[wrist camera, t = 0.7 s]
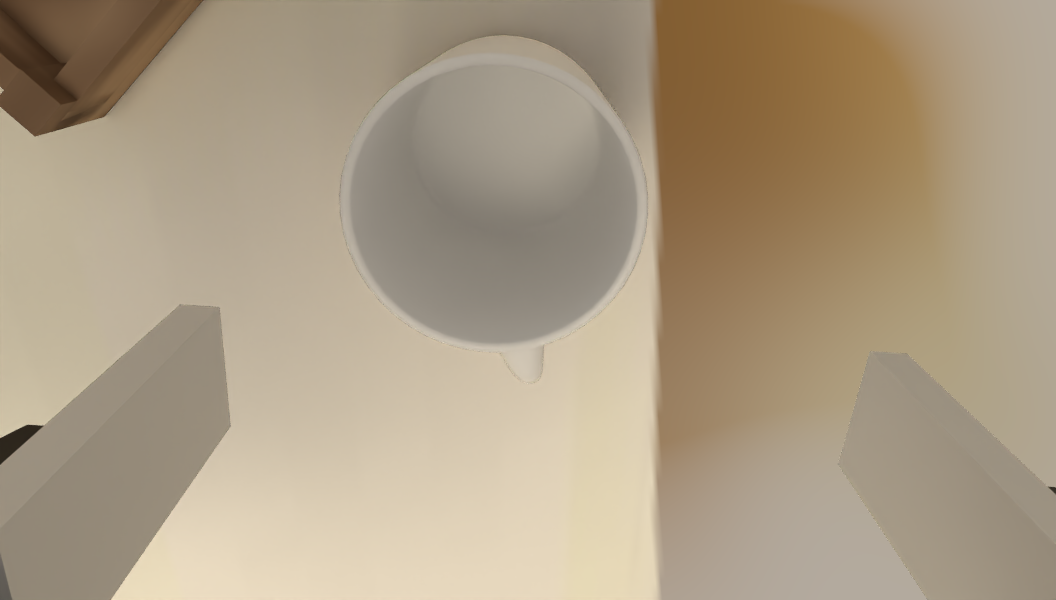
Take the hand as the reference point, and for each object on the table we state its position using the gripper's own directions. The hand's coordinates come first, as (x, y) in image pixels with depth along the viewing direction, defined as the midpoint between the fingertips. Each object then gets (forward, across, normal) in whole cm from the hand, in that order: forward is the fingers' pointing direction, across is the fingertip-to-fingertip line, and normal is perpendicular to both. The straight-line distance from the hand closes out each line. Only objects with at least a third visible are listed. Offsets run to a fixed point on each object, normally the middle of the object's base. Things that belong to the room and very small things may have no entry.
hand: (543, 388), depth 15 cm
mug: (+17, -1, 0) cm, 18 cm away
